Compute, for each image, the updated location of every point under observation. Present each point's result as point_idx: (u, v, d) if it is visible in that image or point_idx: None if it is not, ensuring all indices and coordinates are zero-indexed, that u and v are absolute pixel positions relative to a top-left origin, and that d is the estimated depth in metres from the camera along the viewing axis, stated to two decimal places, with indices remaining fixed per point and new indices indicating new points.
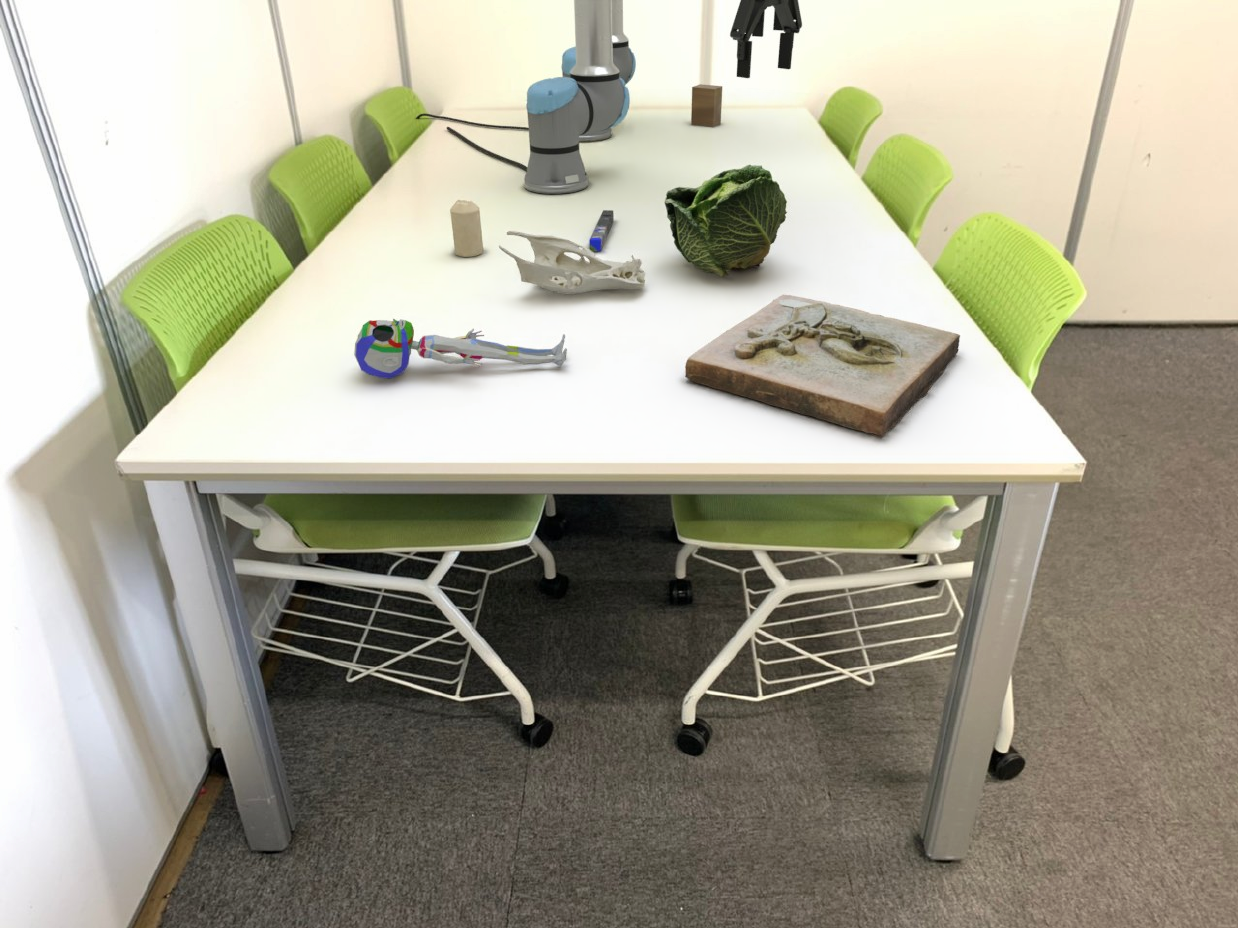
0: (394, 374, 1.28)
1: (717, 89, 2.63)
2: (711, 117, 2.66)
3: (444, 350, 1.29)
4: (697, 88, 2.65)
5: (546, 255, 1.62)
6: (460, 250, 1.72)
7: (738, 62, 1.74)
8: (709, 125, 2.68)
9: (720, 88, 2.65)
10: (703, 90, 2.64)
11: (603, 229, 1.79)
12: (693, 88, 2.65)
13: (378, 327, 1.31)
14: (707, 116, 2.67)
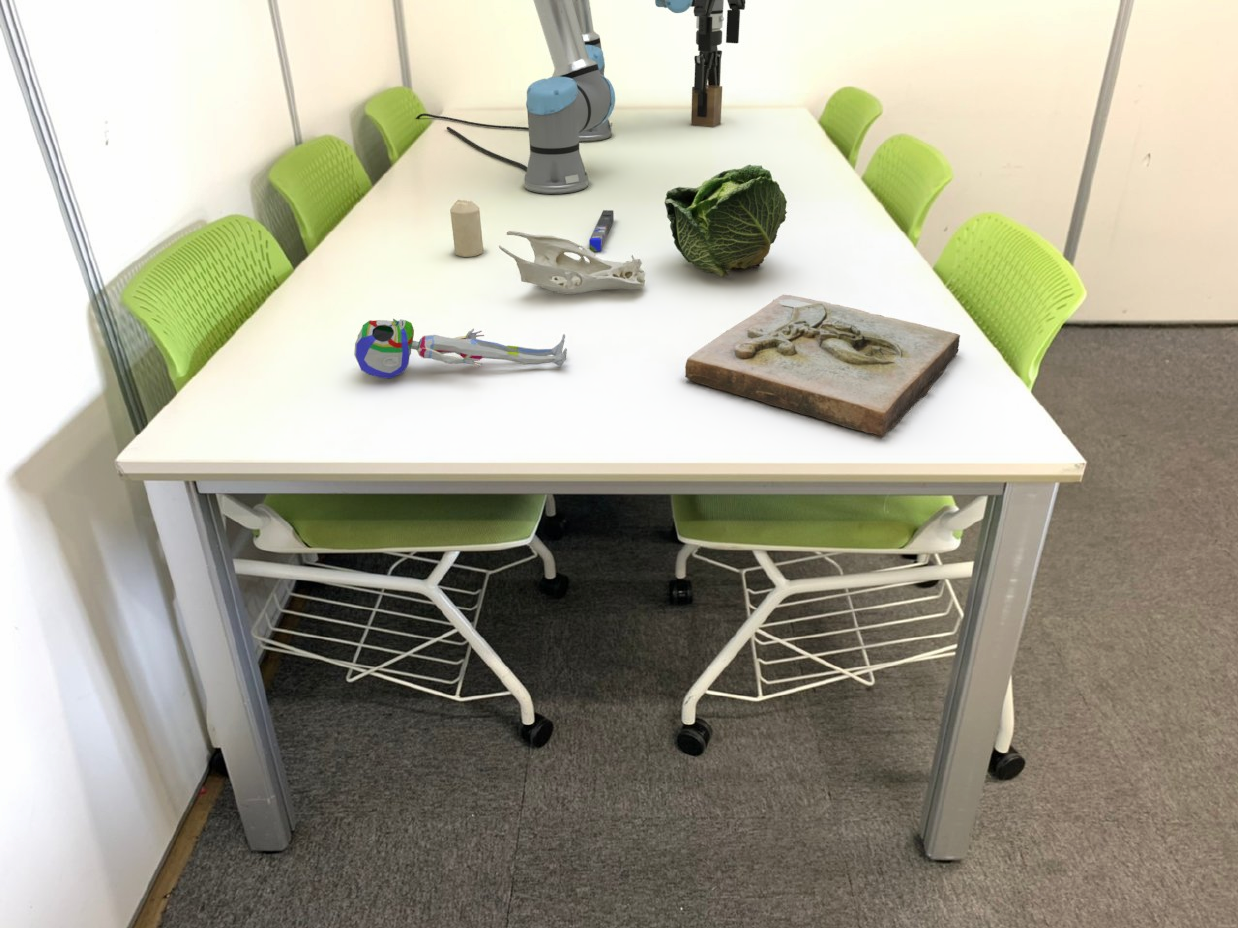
0: (394, 374, 1.28)
1: (717, 89, 2.63)
2: (711, 117, 2.66)
3: (444, 350, 1.29)
4: None
5: (546, 255, 1.62)
6: (460, 250, 1.72)
7: (700, 37, 1.88)
8: (709, 125, 2.68)
9: (720, 88, 2.65)
10: None
11: (603, 229, 1.79)
12: (693, 88, 2.65)
13: (378, 327, 1.31)
14: (707, 116, 2.67)
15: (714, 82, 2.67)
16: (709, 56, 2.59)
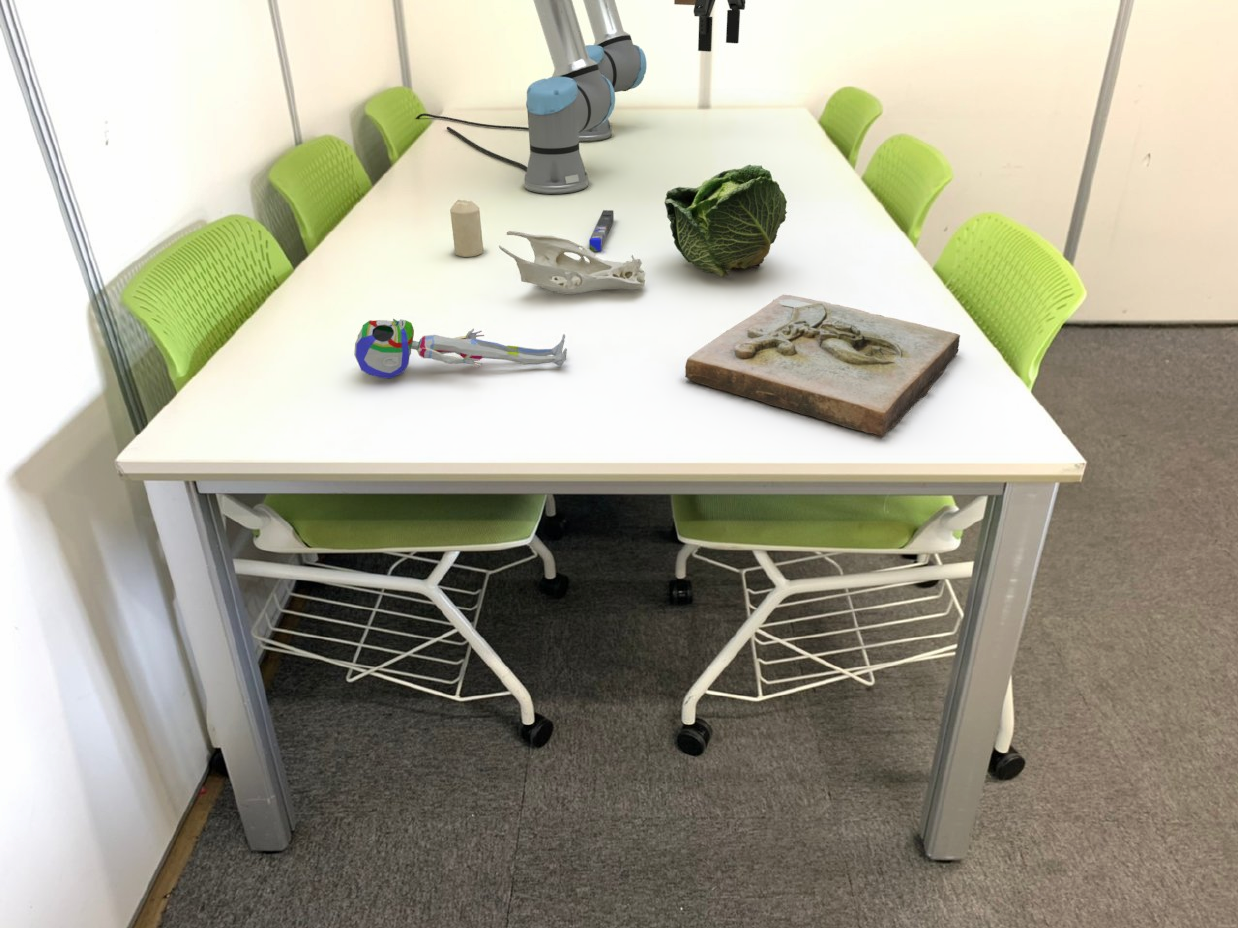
0: (394, 374, 1.28)
1: None
2: None
3: (444, 350, 1.29)
4: None
5: (546, 255, 1.62)
6: (460, 250, 1.72)
7: (700, 37, 1.88)
8: None
9: None
10: None
11: (603, 229, 1.79)
12: None
13: (378, 327, 1.31)
14: None
15: None
16: None
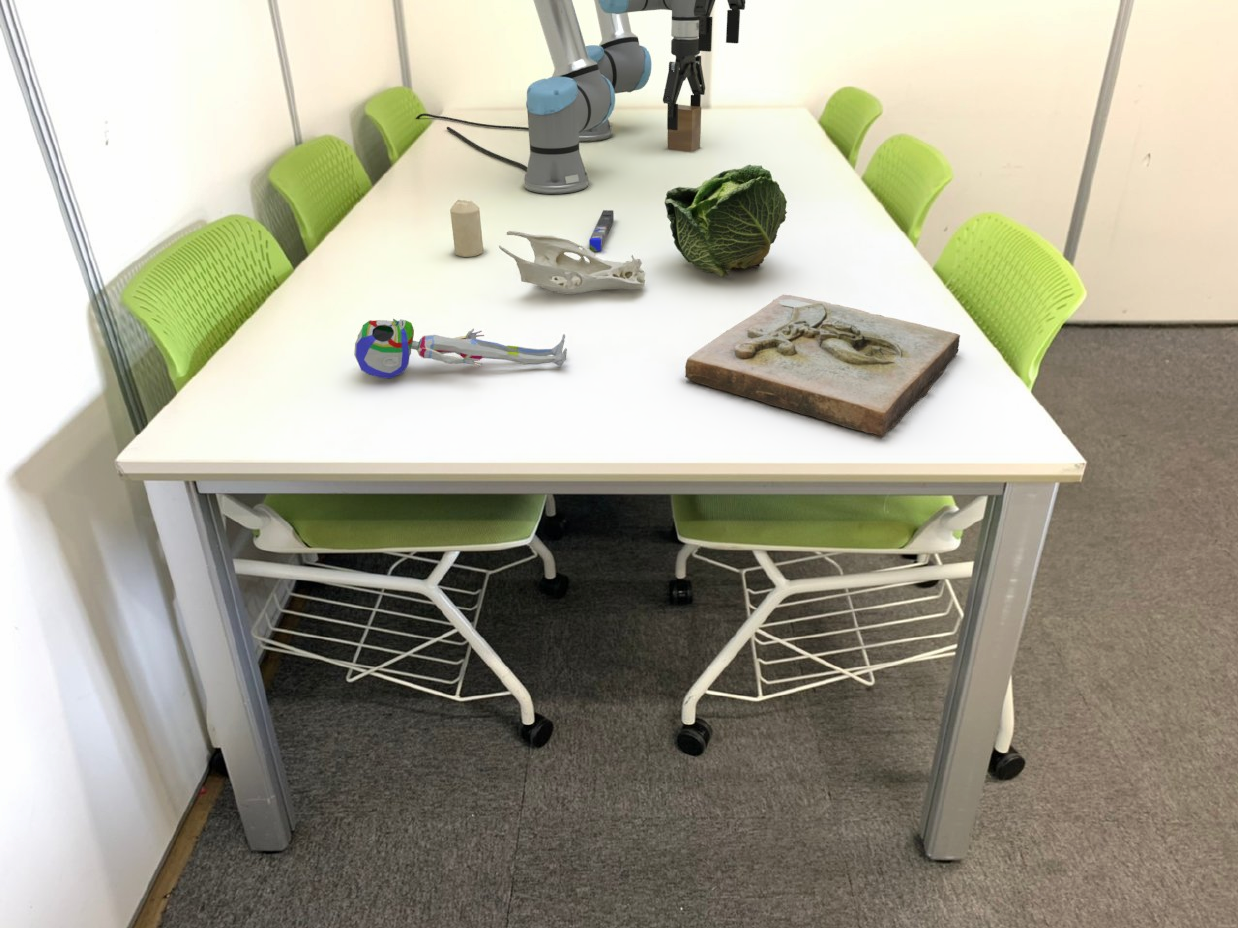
0: (394, 374, 1.28)
1: (695, 110, 2.38)
2: (688, 141, 2.41)
3: (444, 350, 1.29)
4: None
5: (546, 255, 1.62)
6: (460, 250, 1.72)
7: (700, 37, 1.88)
8: (687, 150, 2.42)
9: (699, 109, 2.39)
10: (680, 111, 2.38)
11: (603, 229, 1.79)
12: None
13: (378, 327, 1.31)
14: (684, 140, 2.41)
15: (697, 89, 2.42)
16: (686, 67, 2.32)
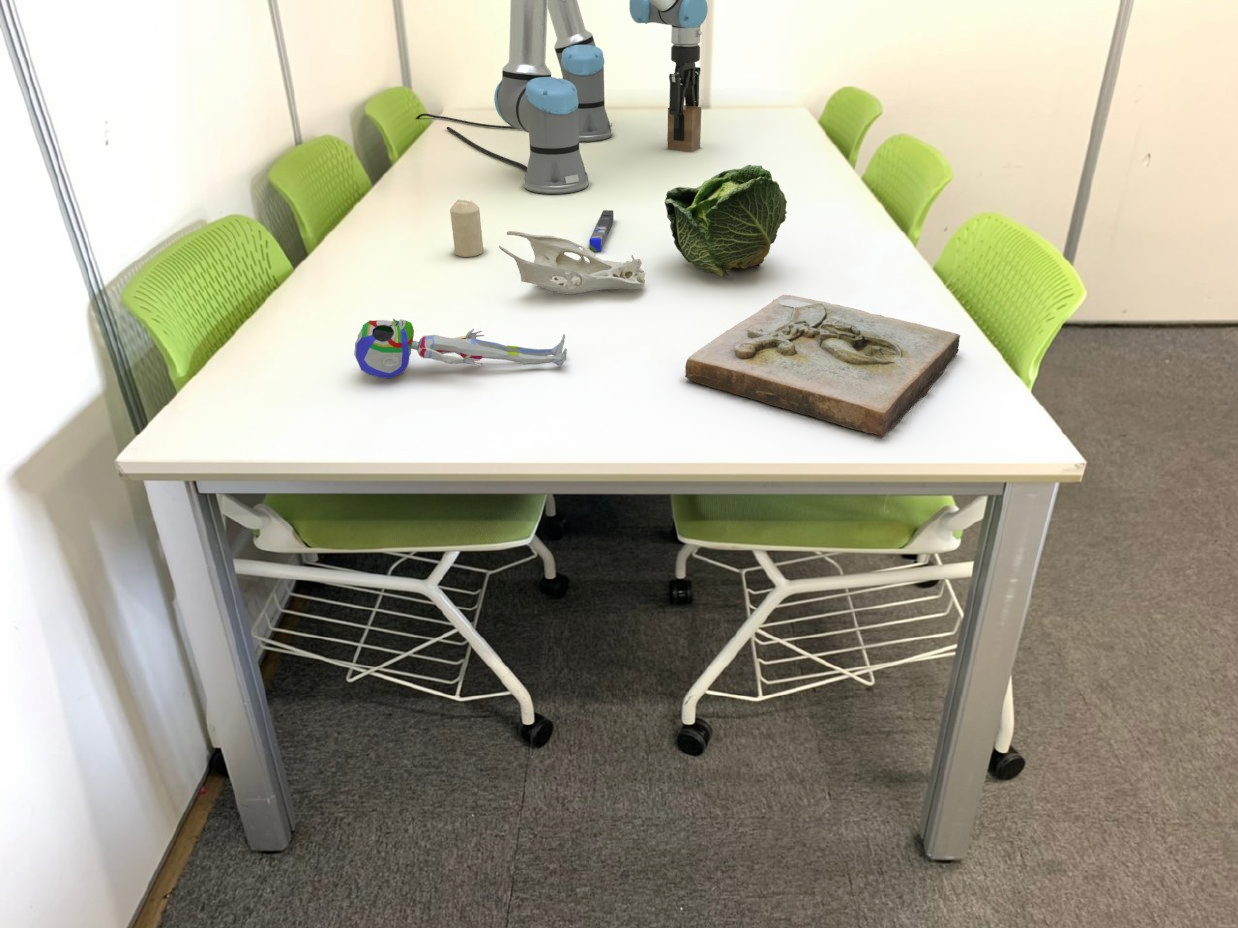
0: (394, 374, 1.28)
1: (695, 110, 2.38)
2: (688, 141, 2.41)
3: (444, 350, 1.29)
4: None
5: (546, 255, 1.62)
6: (460, 250, 1.72)
7: (674, 130, 2.41)
8: (687, 150, 2.42)
9: (699, 109, 2.39)
10: None
11: (603, 229, 1.79)
12: None
13: (378, 327, 1.31)
14: (684, 140, 2.41)
15: None
16: None
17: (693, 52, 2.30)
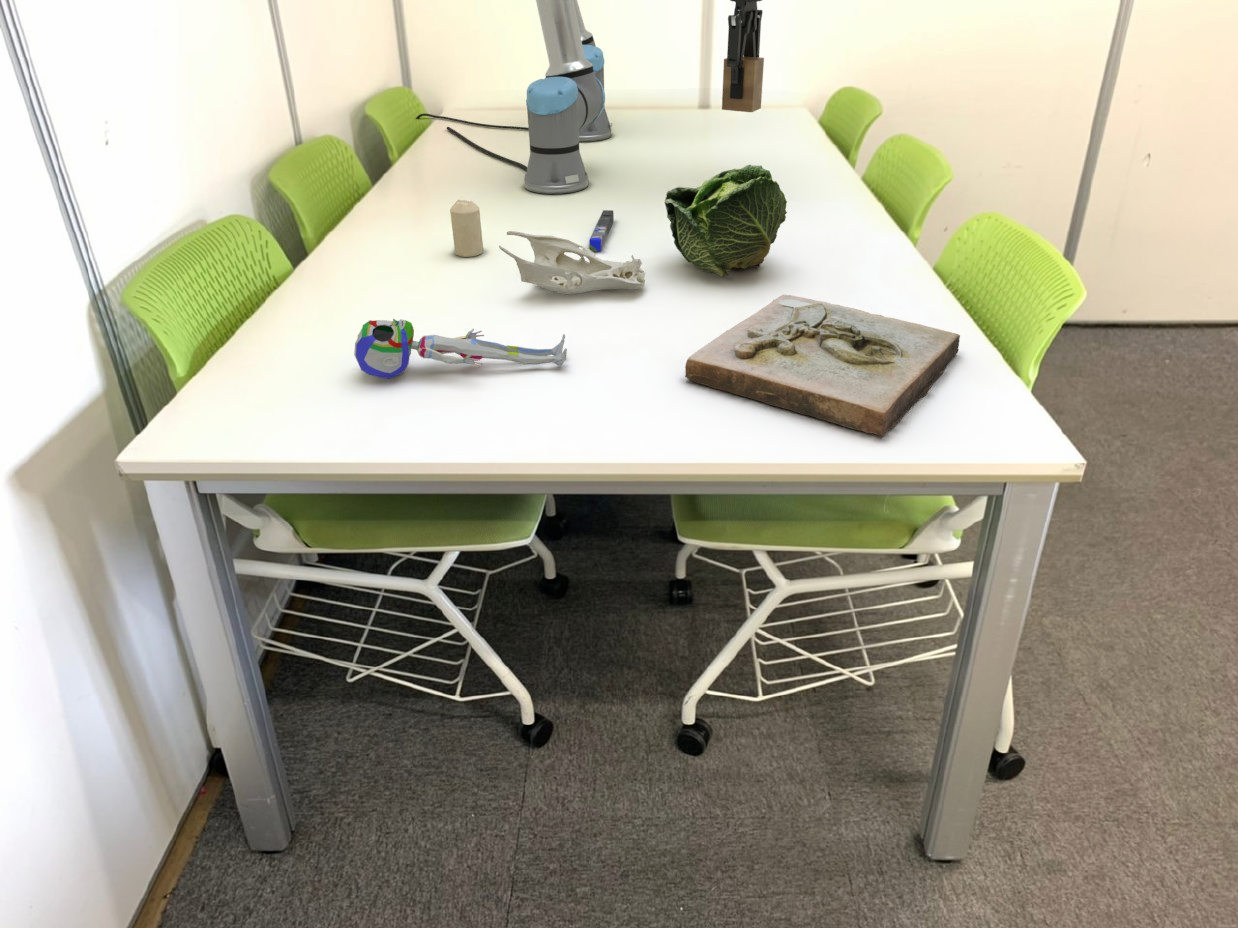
0: (394, 374, 1.28)
1: (758, 61, 1.97)
2: (749, 99, 2.00)
3: (444, 350, 1.29)
4: None
5: (546, 255, 1.62)
6: (460, 250, 1.72)
7: (732, 86, 2.00)
8: (746, 110, 2.01)
9: (761, 60, 1.98)
10: None
11: (603, 229, 1.79)
12: (725, 60, 1.99)
13: (378, 327, 1.31)
14: (743, 98, 2.01)
15: None
16: None
17: None
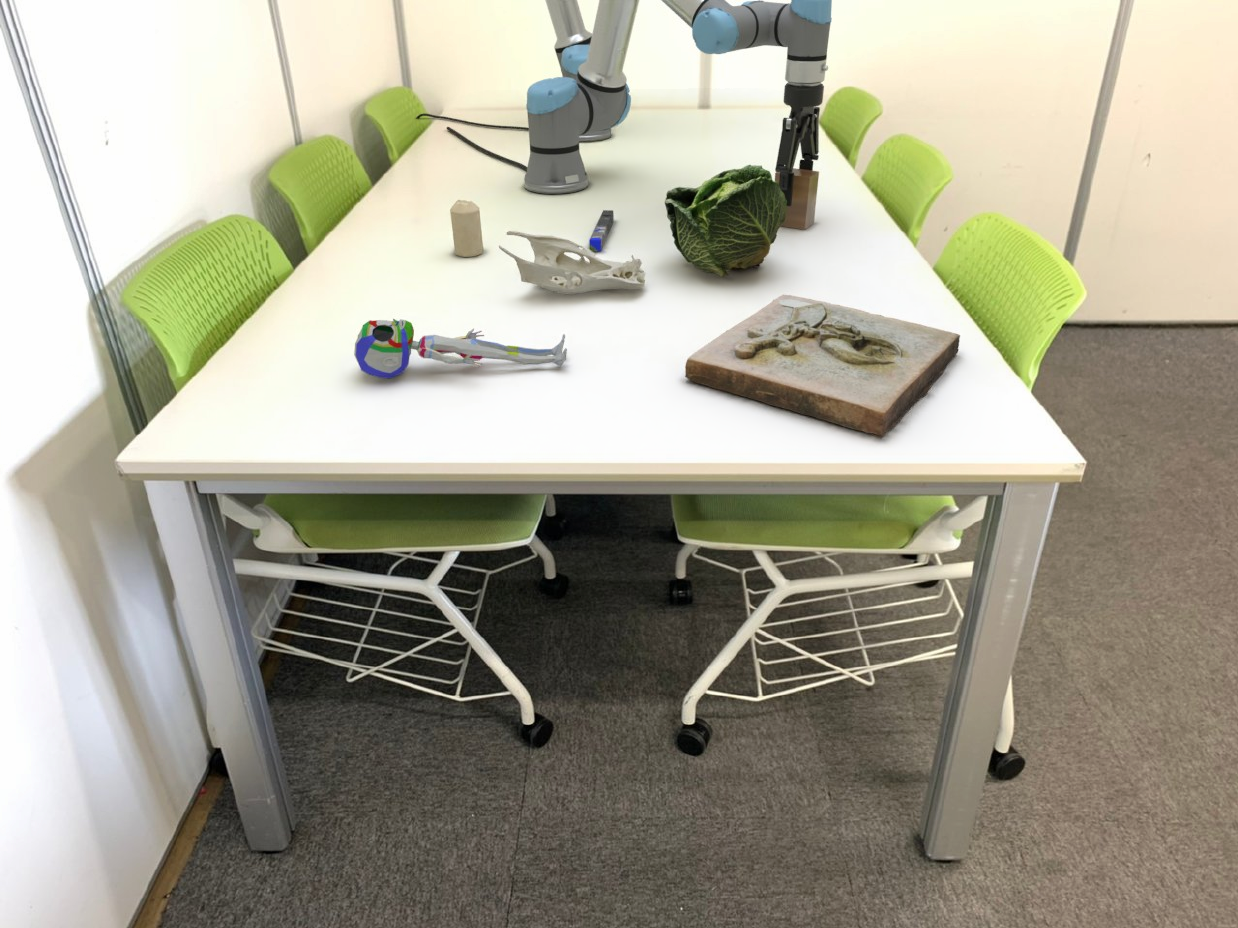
0: (394, 374, 1.28)
1: (813, 177, 1.80)
2: (802, 216, 1.83)
3: (444, 350, 1.29)
4: None
5: (546, 255, 1.62)
6: (460, 250, 1.72)
7: None
8: (799, 227, 1.85)
9: (816, 174, 1.82)
10: None
11: (603, 229, 1.79)
12: (777, 174, 1.82)
13: (378, 327, 1.31)
14: (796, 215, 1.84)
15: None
16: None
17: (816, 94, 1.71)
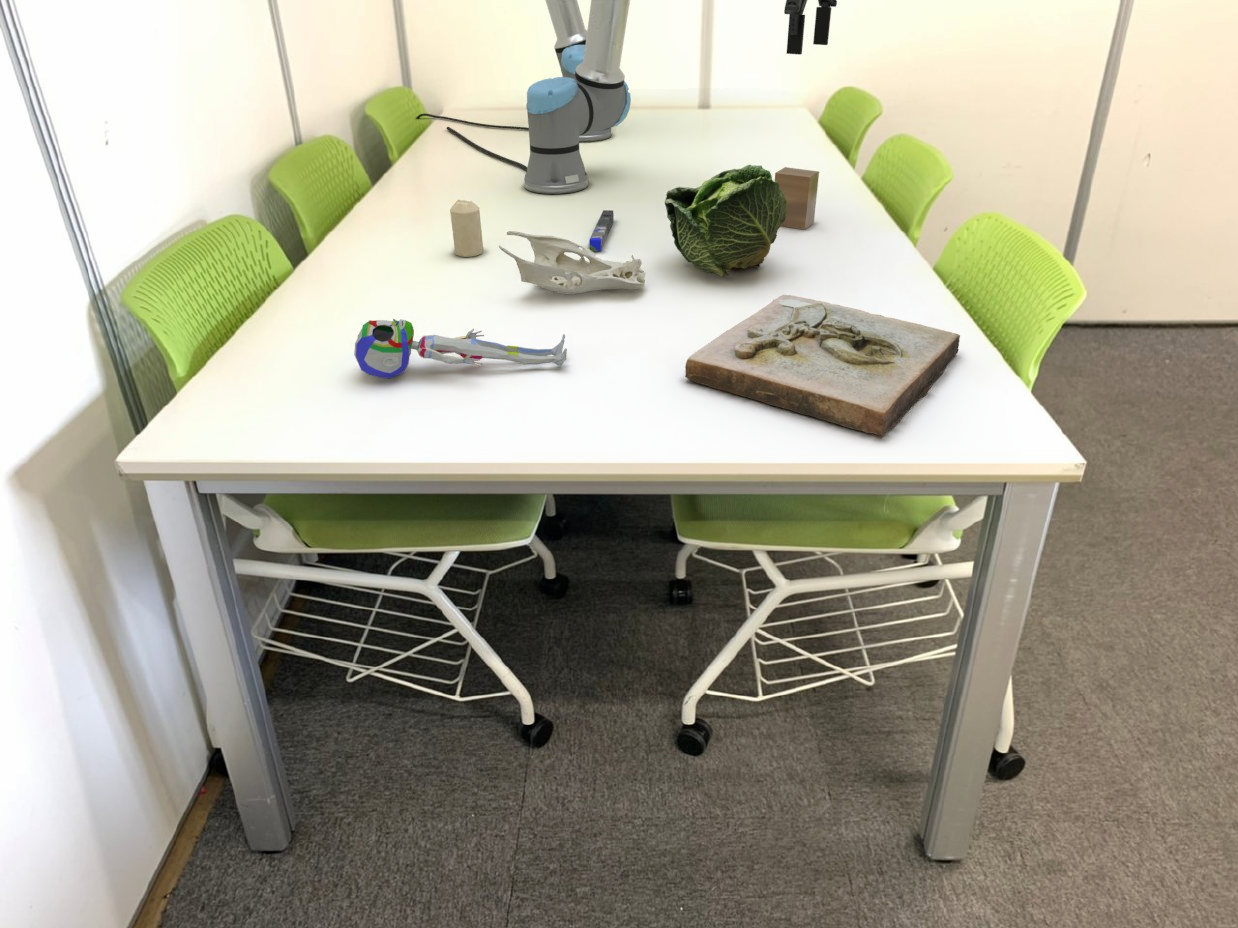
0: (394, 374, 1.28)
1: (813, 177, 1.80)
2: (802, 216, 1.83)
3: (444, 350, 1.29)
4: (783, 175, 1.81)
5: (546, 255, 1.62)
6: (460, 250, 1.72)
7: (789, 38, 1.64)
8: (799, 227, 1.85)
9: (816, 174, 1.82)
10: (792, 178, 1.81)
11: (603, 229, 1.79)
12: (777, 174, 1.82)
13: (378, 327, 1.31)
14: (796, 215, 1.84)
15: None
16: None
17: None
